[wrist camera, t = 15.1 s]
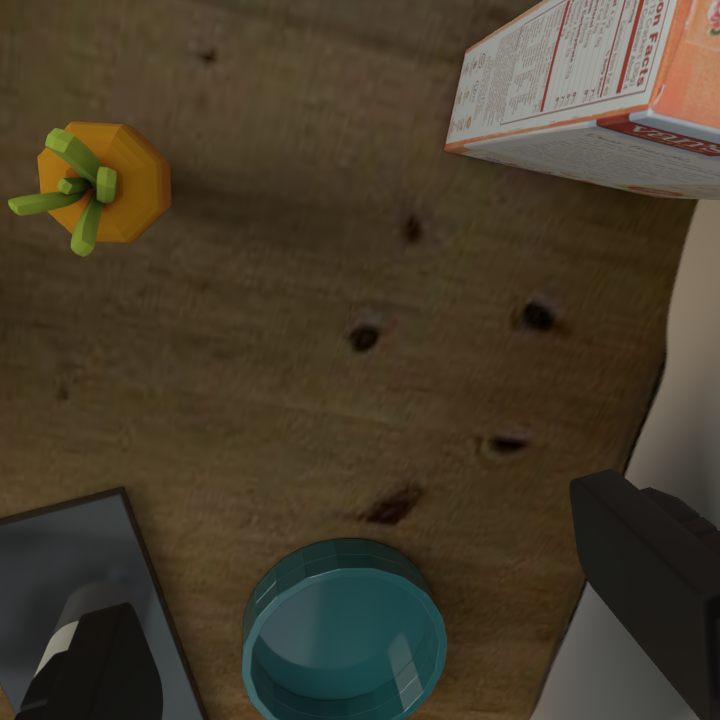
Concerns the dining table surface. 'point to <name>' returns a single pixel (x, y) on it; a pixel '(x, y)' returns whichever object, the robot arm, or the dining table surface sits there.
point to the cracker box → (599, 95)
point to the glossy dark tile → (83, 591)
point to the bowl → (342, 635)
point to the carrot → (99, 184)
